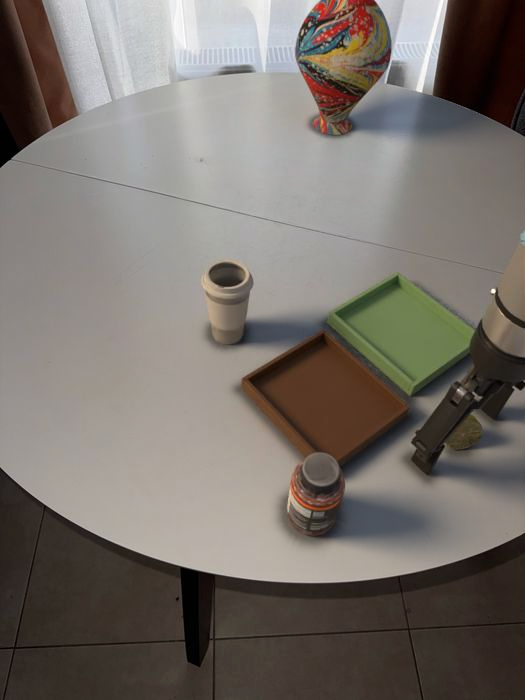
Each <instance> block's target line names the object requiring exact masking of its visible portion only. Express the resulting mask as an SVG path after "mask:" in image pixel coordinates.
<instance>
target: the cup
mask: <svg viewBox="0 0 525 700" xmlns="http://www.w3.org/2000/svg"><path fill="white" fill-rule="evenodd" d="M200 279H201V281H200V283H201V286H202V288H203V290H204V294H205V299H206V306H207V307H206V308H207V313H208V319H209V322H210V326H211V327H210V328H211V335H212V337H213V339H214V340H215V341H216V342H217V343H220V344H222V345H234V344H236V343H238V342H240V341H241V339H242V338H243V336H244V331H245V325H246V324H245V323H246V321H247V315H248V308H249V302H250V294H251V291H252V289H253V287H254V284H255V283H254V277H253V275H252V273H251V272H250V270H249V268H248V267H247V266H246V265H245V264H244V263H242V262H240V261H238V260H234V259H226V258H225V259H220V260H216V261H213V262H211V263H210V264H209V265H208V266H207V267H206V270H205V271H203V273H202V276H201V278H200Z"/></svg>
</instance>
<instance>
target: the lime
mask: <svg viewBox="0 0 525 700" xmlns="http://www.w3.org/2000/svg"><path fill="white" fill-rule="evenodd" d="M483 428H484V427H483V425H482V424H481V423H480V421H479V420H478V419H477V417H475V415H474V414H472V413H471V414H470V415H469V416H468V417H467V418H466V419H465V421H464V422H463V423H462V424H461V425H460V426H459V427H458V429H457V430H456V431H455V432H454V433H453V434H452V435H451V437H450V438H449V439H448V440H447V441H446V442H445V443H444V444H445V445H446V446H447V447H448V448H449V449H451V450H464V449H468V448H470V447H472V446H473V445H475V444H477V443H478V442H479V441H481V438H482V436H483V430H484V429H483Z"/></svg>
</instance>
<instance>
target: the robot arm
mask: <svg viewBox="0 0 525 700" xmlns="http://www.w3.org/2000/svg"><path fill="white" fill-rule="evenodd" d="M519 235H520V236H519V240H518V244H517V245H516V248H515V250H514V252H513V254H512V256H511V257H510V260H509V262H508V264H507V266H506V268H505V270H504V272H503V275H502V276H501V278H500V280H499V283H498V284H497V286H494V287H493V288H491V289H490V292H489V293H490V295H491V296H492V297H491V299H490V302H489V303H488V305H487V306H486V307H487V308H486V309H485V312H484V314H483V315H482V318H480V320H479V322H478V324H477V326H476V328H475V329H474V330H475V332H474V334H473V336H472V338H471V340H470V345H469V349H470V353H469V354H470V357H471V359H472V362H473V363H471V365H470V366H469V367H468V369H467V370H466V374H465V376H464V377H463V378H462V379H461V380H460V381H458V380H455V381H454V382H452V383H451V384H450V387H449V388H448V390H447V392H446V394H445V395H444V397H443V398H442V399H441V401H440V403H439V404H438V405H437V406H436V408H435V409H434V411H433V412H432V413H431V414H430V416H429V417H428V418H427V420H426V421H425V422H424V424H423V425H422V426H421V428H420V429H416V430H415V431H414V434H415V436H413V437H412V439H411V441H410V444H411V445H412V446H413V447H414V448H415V450H414V453H413V455H412V457H411V459H410V461H411V463H413V464H414V465H415V466H416V467H418V469H419V470H420V471H421V472H423V473H424V475H425V476H428V475H430V473H431V472H432V471H433V469H434V467H435V465H436V464H437V462H438V460H439V458H440V457H441V455H442V453H443V452H444V450H445V448H446V443H445V442H446V441H447V440H448V439H449V438H450V437H451V435H452V434H453V433H454V432H455V431H456V430H457V429H458V427H459V426H460V425H461V424H462V423H463V422H464V421H465V419H466V418H467V417H468V416H469V415H470V414H472V413H473V412H474V411H475V410H481V411H482V412H483V413H484V414H485V415H486V416H488V417H489V418H490V419H492V421H493V420H495V419H497V418H498V416H499V414H500V413H501V412H502V410H503V408H504V407H505V405H506V404H507V402H508V401H509V399H510V398H511V397H512V394H513V393H514V392H515V389H517V390H518V391H519V392H521V391H522V390H524V389H525V229H524V230H523V231H522V232H521V234H519ZM514 387H515V388H514ZM473 393H474V394H473ZM475 394H476V395H475ZM476 396H478V397H480V399H479V400H477V399H476Z"/></svg>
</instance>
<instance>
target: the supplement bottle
mask: <svg viewBox="0 0 525 700" xmlns="http://www.w3.org/2000/svg"><path fill="white" fill-rule="evenodd" d="M290 478H291V479H290V484H289V491H288V496H287V507H286V514H287V519H288V521H289V522H290V524H291V525H292V527H293V528H294V529H295V530H296V531H297V532H299V533H301V534H303V535H306V536H321V535H323V534H325V533H327V532H328V531H329V530H330V529H331V528H332V527H333V526H334V525H335V522H336V519H337V517H338V514H339V510H340V508H341V505H342V501H343V497H344V494H345V491H346V478H345V475H344V472H343V470H342V468H341V466H340V467H339V464H338V462H337V461H336V460H335V458H333V457H332V456H331V455H329V454H327V453H322V452H318V453H313V454H311V455H309V456H308V457H307V458H305V459H303V460H301V461H300V462H298V463H297V465H296V466H295V468H293V470H292V474H291V477H290Z"/></svg>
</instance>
